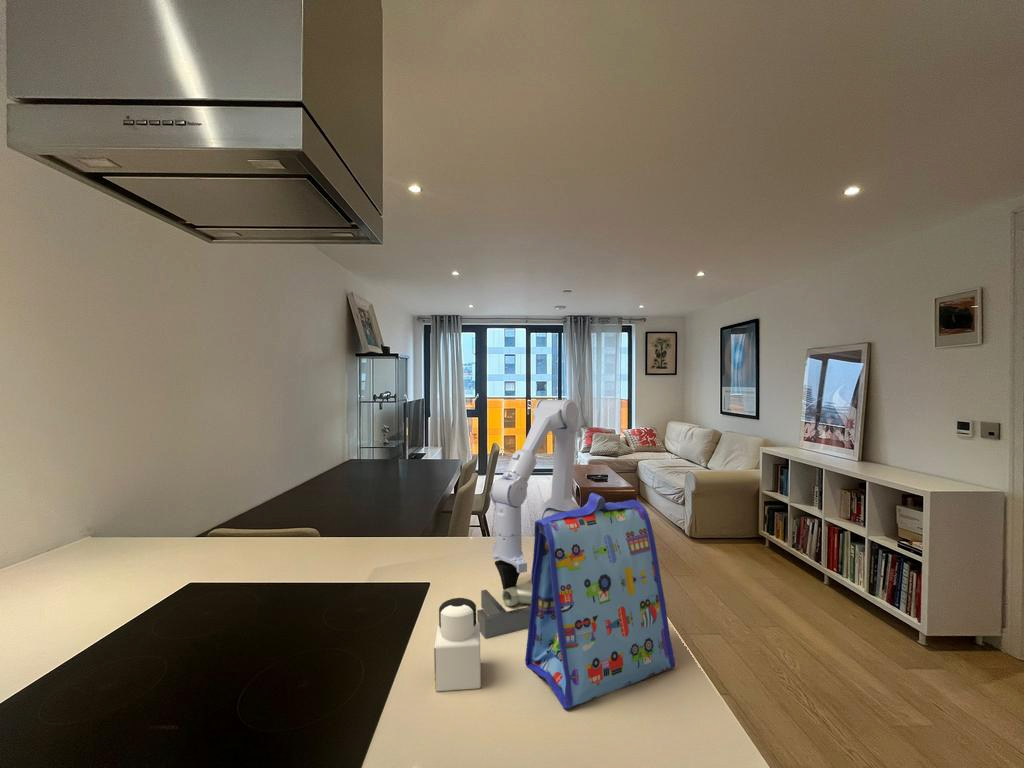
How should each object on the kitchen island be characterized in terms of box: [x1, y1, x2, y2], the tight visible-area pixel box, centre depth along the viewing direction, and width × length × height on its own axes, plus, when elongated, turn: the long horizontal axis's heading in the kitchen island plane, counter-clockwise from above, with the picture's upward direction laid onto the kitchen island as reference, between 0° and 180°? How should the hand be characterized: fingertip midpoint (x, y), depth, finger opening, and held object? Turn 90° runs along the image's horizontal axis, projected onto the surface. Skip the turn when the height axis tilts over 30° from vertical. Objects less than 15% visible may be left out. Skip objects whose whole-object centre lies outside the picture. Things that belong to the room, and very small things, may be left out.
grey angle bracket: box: [476, 589, 531, 640], centre depth 97 cm, size 22×12×4 cm, turn 114°
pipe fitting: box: [501, 579, 533, 607], centre depth 100 cm, size 8×4×7 cm
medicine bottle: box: [433, 597, 482, 692], centre depth 75 cm, size 7×7×12 cm
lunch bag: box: [524, 492, 676, 710], centre depth 77 cm, size 22×14×29 cm, turn 117°
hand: (509, 593), depth 103 cm, fingers closed
